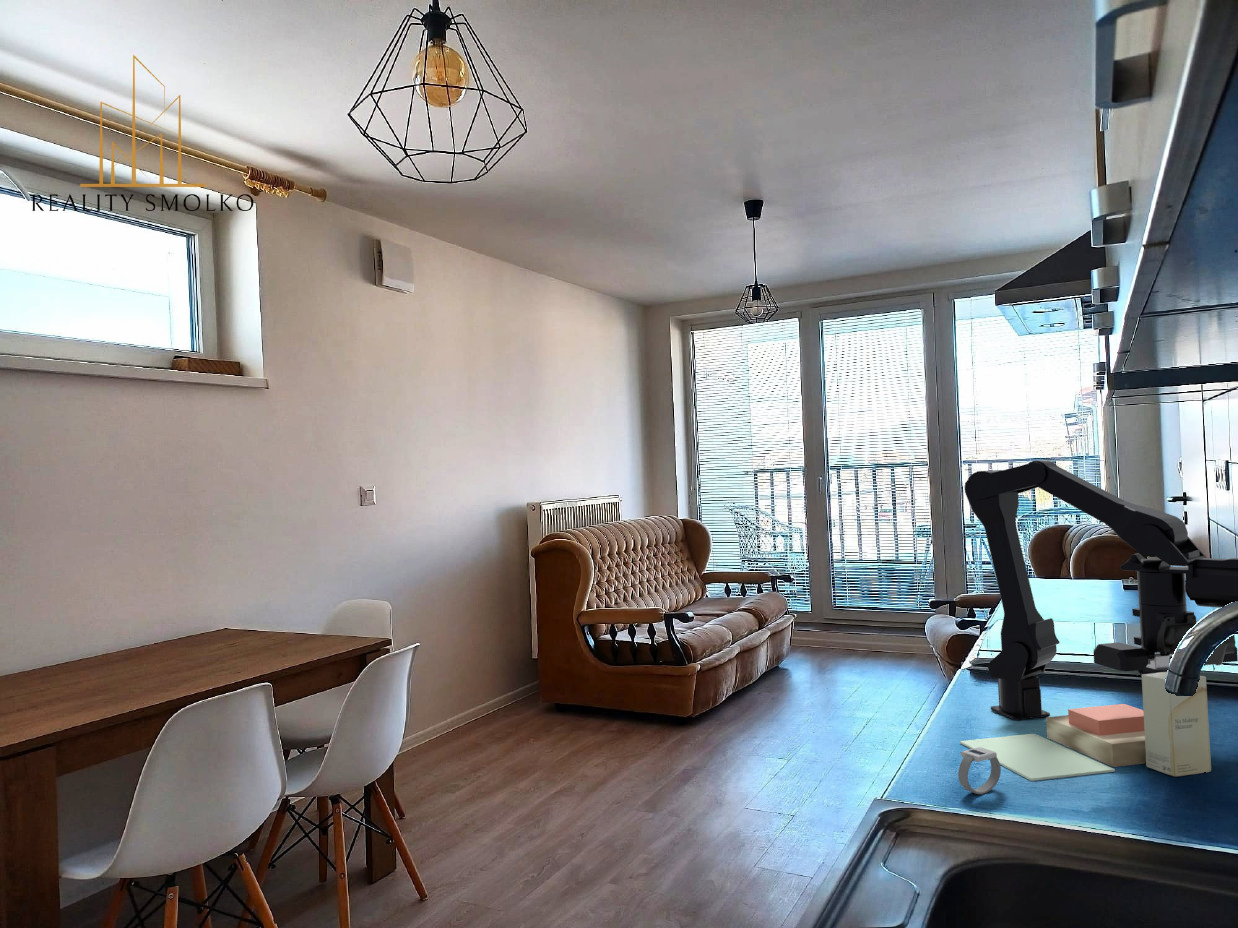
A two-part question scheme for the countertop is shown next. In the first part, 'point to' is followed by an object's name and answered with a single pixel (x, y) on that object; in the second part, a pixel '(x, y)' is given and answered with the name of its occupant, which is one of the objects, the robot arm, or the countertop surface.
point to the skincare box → (1175, 728)
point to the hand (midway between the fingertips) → (1168, 713)
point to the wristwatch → (979, 755)
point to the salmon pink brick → (1108, 719)
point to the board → (1099, 743)
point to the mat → (1038, 757)
